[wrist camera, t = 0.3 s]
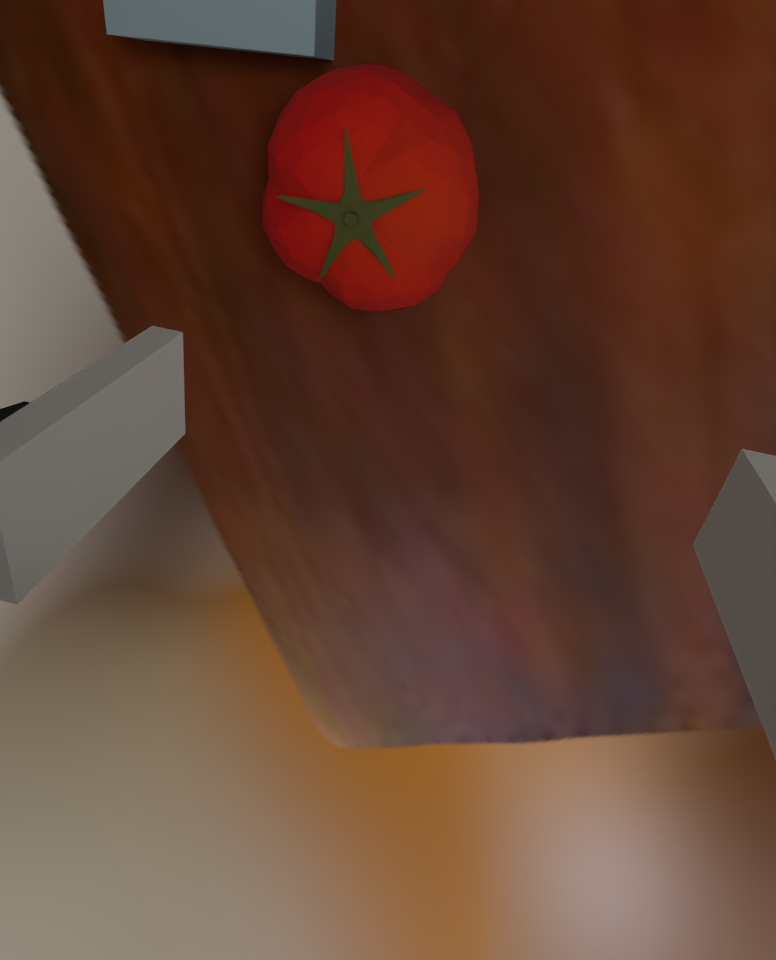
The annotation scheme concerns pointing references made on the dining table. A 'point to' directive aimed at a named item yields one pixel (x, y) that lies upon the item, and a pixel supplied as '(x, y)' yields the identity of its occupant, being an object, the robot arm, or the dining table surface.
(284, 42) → the socket
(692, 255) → the dining table surface
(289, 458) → the dining table surface
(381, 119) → the tomato
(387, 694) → the dining table surface
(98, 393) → the robot arm
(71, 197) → the dining table surface
